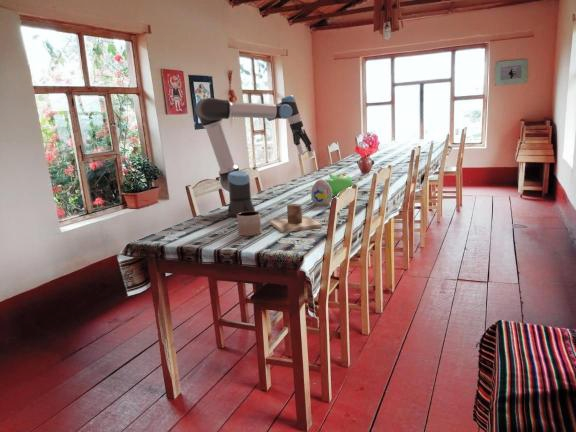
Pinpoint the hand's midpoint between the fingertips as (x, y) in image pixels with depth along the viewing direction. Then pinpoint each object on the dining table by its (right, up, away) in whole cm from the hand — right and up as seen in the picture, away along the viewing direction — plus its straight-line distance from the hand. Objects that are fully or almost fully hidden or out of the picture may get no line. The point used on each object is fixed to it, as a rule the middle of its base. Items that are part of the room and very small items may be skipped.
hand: (306, 155), depth 277 cm
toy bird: (+22, -24, +15) cm, 36 cm away
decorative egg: (+9, -30, -8) cm, 32 cm away
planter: (-29, -45, -63) cm, 82 cm away
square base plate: (-8, -41, -52) cm, 67 cm away
